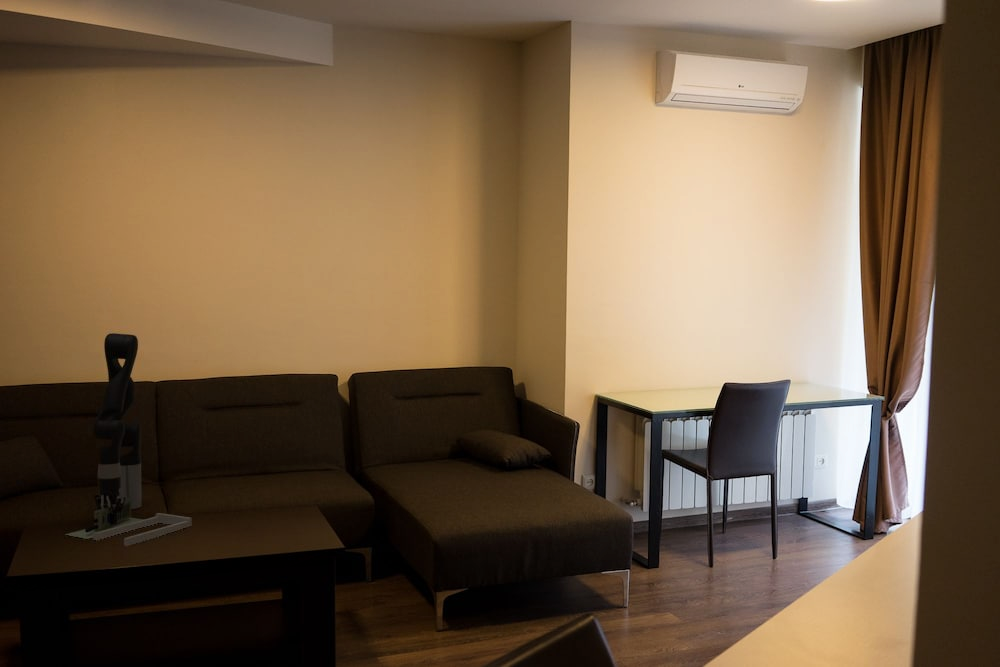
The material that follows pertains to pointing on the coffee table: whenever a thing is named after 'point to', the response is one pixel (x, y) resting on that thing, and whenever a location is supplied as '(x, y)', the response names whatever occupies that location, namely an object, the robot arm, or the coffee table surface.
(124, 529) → the white u-shaped frame
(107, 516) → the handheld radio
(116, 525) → the green mat
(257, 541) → the coffee table surface
